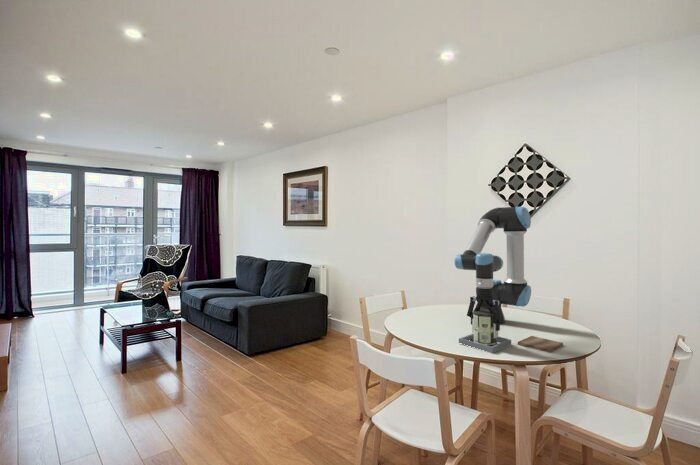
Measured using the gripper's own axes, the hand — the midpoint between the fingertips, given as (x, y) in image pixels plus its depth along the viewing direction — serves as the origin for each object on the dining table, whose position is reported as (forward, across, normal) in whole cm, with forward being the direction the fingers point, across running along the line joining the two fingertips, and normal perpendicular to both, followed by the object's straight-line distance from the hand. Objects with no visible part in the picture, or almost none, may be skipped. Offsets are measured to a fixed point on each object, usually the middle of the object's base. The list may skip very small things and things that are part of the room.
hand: (485, 334), depth 168 cm
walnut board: (+5, +17, +18) cm, 25 cm away
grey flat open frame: (+4, 0, 0) cm, 4 cm away
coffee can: (+4, 0, 0) cm, 4 cm away
